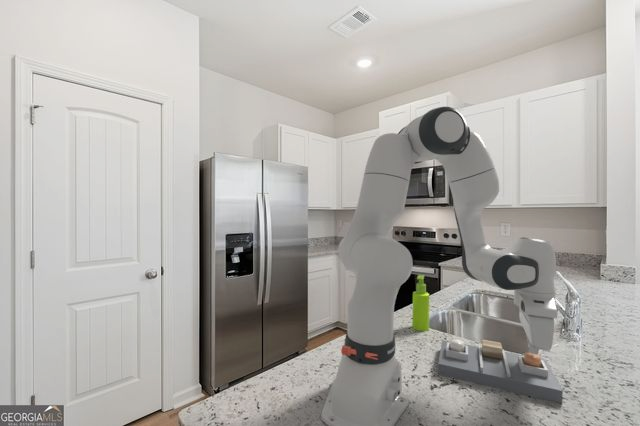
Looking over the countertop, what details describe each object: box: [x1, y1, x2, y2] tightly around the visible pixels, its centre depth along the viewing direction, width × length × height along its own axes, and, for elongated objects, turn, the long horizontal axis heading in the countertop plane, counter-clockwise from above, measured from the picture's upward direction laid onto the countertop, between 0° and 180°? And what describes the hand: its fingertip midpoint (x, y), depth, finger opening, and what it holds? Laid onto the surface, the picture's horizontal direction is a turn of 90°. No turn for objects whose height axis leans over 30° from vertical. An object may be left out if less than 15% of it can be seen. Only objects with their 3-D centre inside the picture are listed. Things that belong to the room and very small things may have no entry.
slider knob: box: [481, 339, 503, 359], centre depth 86 cm, size 4×5×3 cm
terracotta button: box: [523, 352, 542, 368], centre depth 79 cm, size 4×4×2 cm
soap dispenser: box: [411, 274, 430, 332], centre depth 112 cm, size 6×7×20 cm
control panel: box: [437, 339, 563, 404], centre depth 83 cm, size 16×27×5 cm, turn 64°
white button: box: [450, 338, 465, 352], centre depth 87 cm, size 4×4×2 cm
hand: (533, 351), depth 79 cm, fingers closed
